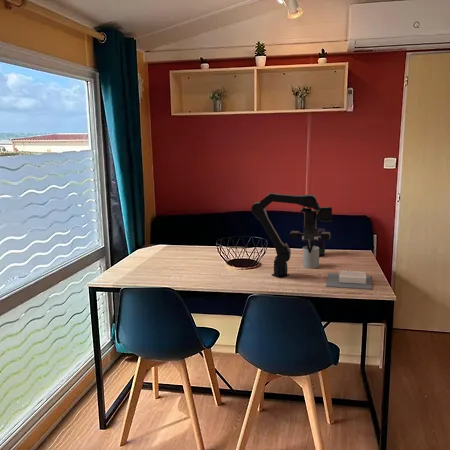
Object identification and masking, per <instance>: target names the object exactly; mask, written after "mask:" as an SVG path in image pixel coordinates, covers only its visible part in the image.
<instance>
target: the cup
mask: <svg viewBox="0 0 450 450" xmlns="http://www.w3.org/2000/svg"><path fill="white" fill-rule="evenodd" d="M302 267H303V268H305V269H310V270H311V269H317V268H318V269H319V267H320V257H319V247H316V246H313V248H312V251H311V253H309V251H308V248H307V245H305V246H303V247H302Z"/></svg>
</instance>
